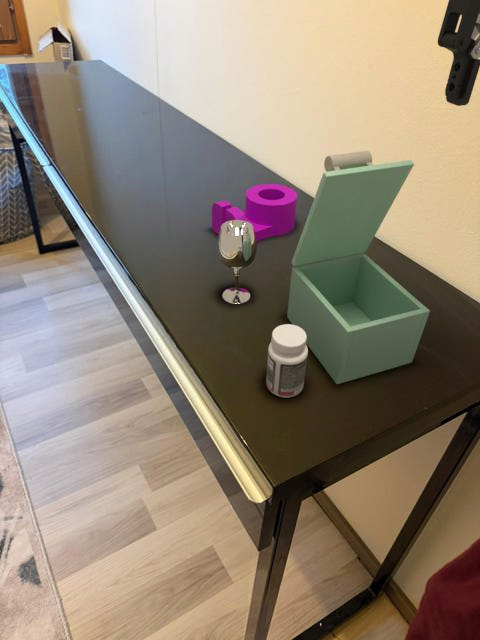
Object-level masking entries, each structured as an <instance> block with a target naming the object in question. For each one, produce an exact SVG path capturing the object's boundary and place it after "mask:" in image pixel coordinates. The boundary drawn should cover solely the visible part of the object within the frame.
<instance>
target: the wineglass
mask: <svg viewBox="0 0 480 640" xmlns="http://www.w3.org/2000/svg"><path fill="white" fill-rule="evenodd" d="M216 245H217V247H216V248H217V249H216V251H217V256H218V258H219V261H220V262H221V263H222V264H223V265H224V266H226V267H228V268H231V269H233V271H232V272H233V275H234V287H229V288H226V289H225V290H224V291H222V295H221V296H222V299H223V300H224V301H225V302H226V303H229V304H233V305H242V304H245V303H247V302H248V301H249V300H250V299H251V293H250V291H249V290H248V289H246V288H243V287H239V278H240V275H241V274H240V273H241V269H244V268H246V267H249V266H250V265H251V264H252V263H253V262H254V260H255V258H256V255H257V248H258V247H257V246H258V245H257V241H256V237H255V231H254V227H253V225H252V224H251V223H249V222H247V221H243V220H231V221H227V222H225V223H223V224H222V226H221V229H220V233H219V235H218V237H217V244H216Z"/></svg>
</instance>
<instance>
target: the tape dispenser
mask: <svg viewBox="0 0 480 640" xmlns="http://www.w3.org/2000/svg"><path fill="white" fill-rule="evenodd" d="M297 201H298V193H297V192H296V191H295V190H294V189H293V188H291V187H288V186H285V185H281V184H276V183H275V184H274V183H264V184H257V185H254V186H252V187H250V188H248V189H247V190H246V192H245V208H244V209H245V210H241V209H239V208H238V207H236V206H233V207H232V203H230V202H229V201H227V200H221V201H217V202H214V203H213V204H212V206H211V231H213V233H215V234H217V236H219V233H220V229H221V226H222V224H223V223H225V222H227V221H231V220H243V221H247V222H249V223H251V224H252V225H253V227H254V231H255V237H256V242H259V241H261V240H264V239H267V238H270V237H276V236H282V235H286V234H288V233H290V232H292V231H293V230H294V228H295V223H296V212H297V203H298V202H297Z"/></svg>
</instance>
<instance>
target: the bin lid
mask: <svg viewBox="0 0 480 640" xmlns="http://www.w3.org/2000/svg"><path fill="white" fill-rule="evenodd" d="M323 166H324V170H325V171H323V173H322V176H321V178H320V182H319V184H318V187H317V190H316V192H315V195H314V198H313V201H312V204H311V207H310V210H309V212H308V215H307V218H306V221H305V223H304V226H303V229H302V232H301V234H300V237H299V240H298V243H297V246H296V249H295V251H294V254H293V257H292V260H291V264H292V267H297V266H302V265H307V264H312V263H317V262H322V261H327V260H332V259H337V258H342V257H347V256H352V255H357V254H362V253H366V252H367V251H368V249H369V247H370V245H371V243H372V241H373V240H374V238H375V236H376V234H377V233H378V231H379V229H380V227H381V225H382V223H383V222H384V221H385V218H386V216H387V215H388V212H389V211H390V209H391V207H392V205H393V204H394V203H395V200H396V198H397V197H398V195H399V193H400V191H401V189H402V187H403V185H404V184H405V182H406V180H407V178H408V176H409V175H410V173H411V171H412V169H413V167H414V166H415V163H414V161H413V160H412V159H408V160H401V161H395V162H393V161H392V162H386V163H379V164H373V156H372V153H371V151H369V150H361V151H356V152H355V151H354V152H346V153H338V154H331V155H327V156H325V158H324V163H323Z"/></svg>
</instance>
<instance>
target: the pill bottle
mask: <svg viewBox="0 0 480 640" xmlns="http://www.w3.org/2000/svg"><path fill="white" fill-rule="evenodd" d="M306 339H307V335H306V333H305V331H304V330H303V329H302V328H300V327H298V326H296V325H293V324H292V323H291V324H290V323H285V324H280V325H278V326H276V327H274V329H273V330H272V333H271V339H270V343H269V345H268V348H267V364H266V380H265V385H266V387H267V389H268V391H269V392H271V394H273V395H274V396H277V397H279V398H282V399H283V398H284V399H286V398H288V399H289V398H293V397H296V396H297V395H299V394H300V393H301V392H302V391H303V389H304V385H305V380H306V379H305V378H306V371H307V363H308V356H309V349H308V348H309V347H308V345H307V343H306Z"/></svg>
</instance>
